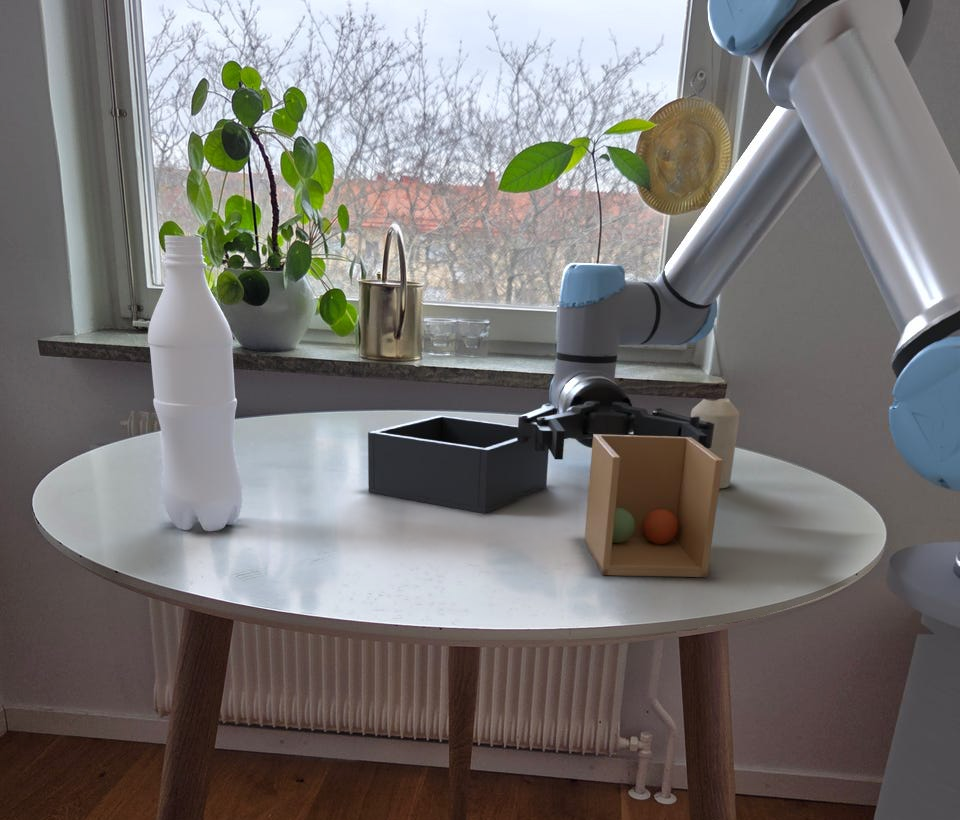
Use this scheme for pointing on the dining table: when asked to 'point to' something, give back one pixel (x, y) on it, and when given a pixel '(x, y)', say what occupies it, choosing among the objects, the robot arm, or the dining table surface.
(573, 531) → the dining table surface
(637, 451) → the box
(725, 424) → the cream bottle
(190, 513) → the water bottle
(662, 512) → the ball
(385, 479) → the basket
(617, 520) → the ball
